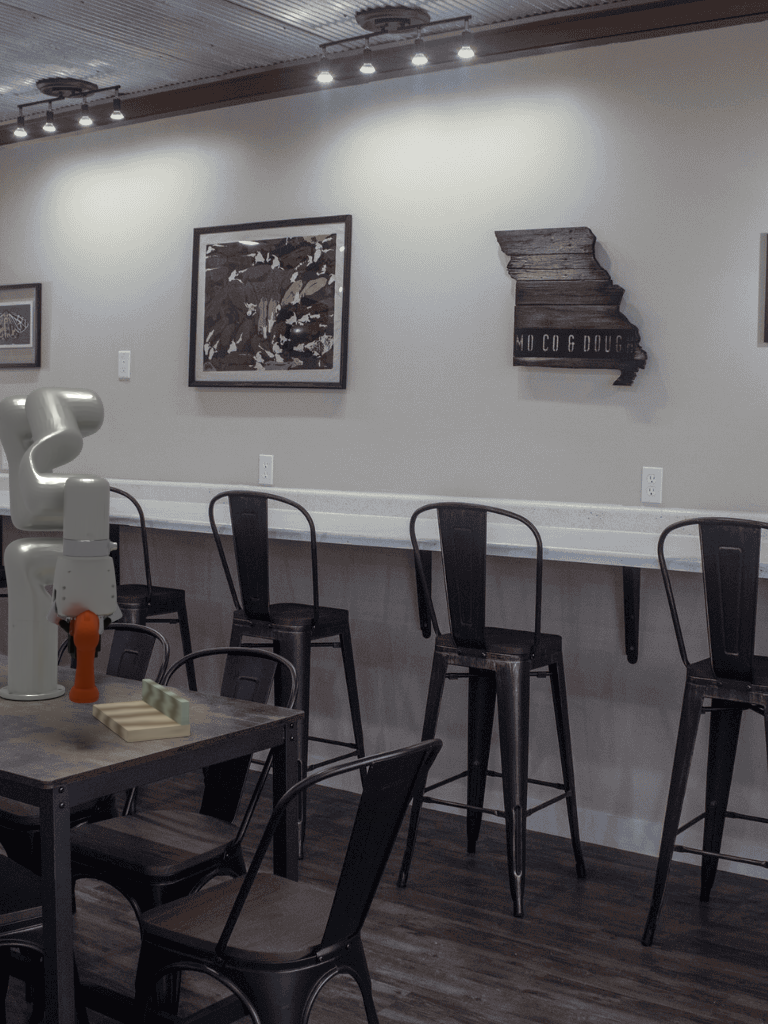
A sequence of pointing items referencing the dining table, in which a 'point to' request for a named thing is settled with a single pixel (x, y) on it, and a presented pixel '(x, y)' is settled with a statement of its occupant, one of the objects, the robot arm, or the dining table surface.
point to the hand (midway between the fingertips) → (84, 656)
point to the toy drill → (85, 658)
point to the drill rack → (147, 715)
